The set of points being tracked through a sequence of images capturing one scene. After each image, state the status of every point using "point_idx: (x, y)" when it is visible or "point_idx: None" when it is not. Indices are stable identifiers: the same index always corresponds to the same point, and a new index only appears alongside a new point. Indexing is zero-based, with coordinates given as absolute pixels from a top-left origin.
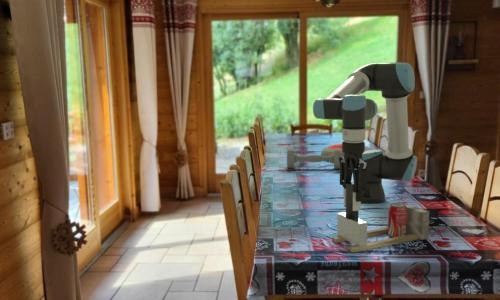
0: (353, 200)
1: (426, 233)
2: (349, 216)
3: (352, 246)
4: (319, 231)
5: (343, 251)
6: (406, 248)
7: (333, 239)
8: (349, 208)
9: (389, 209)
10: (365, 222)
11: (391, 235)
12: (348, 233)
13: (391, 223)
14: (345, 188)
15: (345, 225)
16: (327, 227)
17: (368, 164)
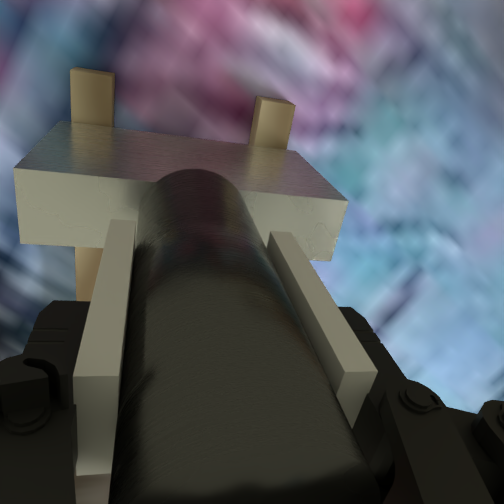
0: (110, 283)
1: None
2: (169, 184)
3: (98, 96)
4: (429, 145)
5: (118, 33)
6: (7, 339)
7: (277, 100)
8: (171, 213)
9: None
10: (25, 230)
11: None
12: (182, 148)
13: None
14: (365, 387)
15: (225, 166)
16: (433, 217)
17: None
